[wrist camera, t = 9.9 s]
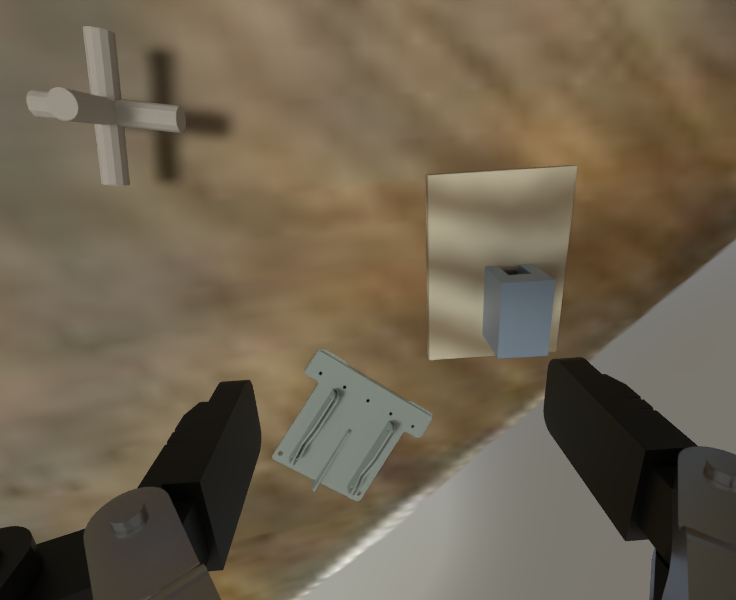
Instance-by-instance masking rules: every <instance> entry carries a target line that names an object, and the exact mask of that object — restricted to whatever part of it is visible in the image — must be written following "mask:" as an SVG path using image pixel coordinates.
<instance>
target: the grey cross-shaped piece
mask: <svg viewBox="0 0 736 600" xmlns="http://www.w3.org/2000/svg"><path fill="white" fill-rule="evenodd" d="M83 34H84V42H85V51H86V59H87V67H88V75H89V84H90V92H91V94H88V93H83V92H79V91H74V90H70V89H65V88H60V87H56V88H53V89H51V90H50V91H42V90H30V91H29V92H28V94H27V105H28V108H29V110H30V112H31V113H32V114H33V115H34V116H36V117H38V118H44V119H53V120H63V121H72V122H81V123H91V124H94V125H95V133H96V141H97V149H98V158H99V166H100V174H101V182H102V184H106V185H130V181H129V171H128V161H127V151H126V140H125V130H124V127H129V128H138V129H147V130H157V131H166V132H176V133H183V132H184V131H185V128H186V116H185V112H184V110H183V108H182V107H181V106H177V105H168V104H159V103H150V102H141V101H132V100H123V99H121V90H120V79H119V69H118V59H117V49H116V39H115V33H114V32H111V31H109V30H105V29H101V28H96V27H90V26H84V27H83Z"/></svg>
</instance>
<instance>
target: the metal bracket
mask: <svg viewBox="0 0 736 600" xmlns="http://www.w3.org/2000/svg"><path fill="white" fill-rule="evenodd" d="M319 372H322V374H321V375H319ZM305 374H306V375H307V376H309V377H311V378H313V379H314V380H316V381H317V382H318V385H317V387H316V388H315V390H314V391H313V393H312V394H311V396H310V397H309V399H308V401H307V402H306V404H305V405H304V407H303V408H302V410H301V411H300V413H299V415H298V416H297V418H296V419H295V421H294V422H293V424H292V426H291V427H290V429H289V430H288V432H287V433H286V435H285V436H284V438H283V440H282V441H281V443H280V444H279V446H278V447H277V449H276V450H275V452H274V454H273V456H272V457H273V459H274V460H276V461H278V462H280V463H282V464H284V465H286V466H288V467H290V468H292V469H293V470H295V471H297V472H299V473H301V474H303V475H305V476H307V477H309V478H311V479H312V491H315V490H316V488H317V486H318V485H319V483H321V484H323V485H325V486H327V487H329V488H331V489H333V490H335V491H337V492H339V493H341V494H343V495H345V496H347V497H349V498H351V499H353V500H355V501H360V500H361V498H362V496H363V495H364V493H365V492H366V490H367V489H368V487H369V485H370V484H371V482H372V481H373V479H374V478H375V476H376V475H377V473H378V471H379V470H380V468H381V467H382V465H383V464H384V462H385V460H386V459H387V457H388V456H389V454H390V453H391V451H392V450H393V448H394V446H395V445H396V443H397V442H398V440H399V439H400V437H401V435H402V434H403V433H404V432H407V433H409V434H411V435H413V436H414V437H416V438H419V437H421V436H422V434H423V433H424V431H425V430H426V428H427V427H428V425H429V423H430V422H431V420H432V417H433V415H432V413H430V412H428V411H427V410H425V409H423V408H422V407H420V406H418V405H417V404H415V403H413V402H412V401H407V400H405V399H404V398H402V397H400V396H398V395H397V394H395V393H393V392H392V391H390V390H388V389H387V388H385V387H383V386H382V385H380V384H378V383H377V382H375V381H373V380H372V379H370V378H368V377H366V376H365V375H363V374H361V373H360V372H358V371H356V370H355V369H353V368H351V367H350V366H348V365H347V362H345V361H344V360H342V359H340V358H339V357H337V356H335V355H334V354H332V353H331V352H329V351H327V350H326V349H319V350H318V351H317V352H316V354H315V355H314V357H313V358H312V360H311V361H310V363H309V365H308V366H307V368H306V369H305ZM343 386H346V388H345V389H344V388H343ZM367 399H369V400H370V401H369V402H367V401H366V400H367ZM390 412H392V414H391V415H389V413H390ZM412 425H414V427H413V428H412V427H411V426H412ZM279 451H282V452H283V454H282V455H279V454H278V452H279ZM359 491H361V493H360V494H359V495H358V492H359Z"/></svg>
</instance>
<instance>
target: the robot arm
mask: <svg viewBox="0 0 736 600" xmlns="http://www.w3.org/2000/svg"><path fill="white" fill-rule="evenodd" d="M544 419H545V423H546V426H547V428H548V431H549V432H550V434H551V435H552V437H553V438H554V440H555V441H556V442H557V444H558V445H559V447H560V448H561V450H562V451H563V453H564V454H565V455H566V457H567V458H568V459H569V461H570V462H571V464H572V465H573V467H574V468H575V470H576V471H577V473H578V474H579V475H580V477H581V478H582V480H583V481H584V483H585V484H586V485H587V487H588V488H589V490H590V491H591V493H592V494H593V496H594V497H595V498H596V500H597V501H598V503H599V504H600V505H601V507H602V508H603V510H604V511H605V513H606V514H607V515H608V517H609V518H610V520H611V521H612V523H613V524H614V526H615V527H616V529H617V530H618V531H619V533H620V534H621V536H622V537H623V539H624V540H625V541H634V540H646V539H649V540H650V542H651V543H652V544H653V546H654V547H655V549H654V552H653V556H652V564H651V580H650V599H649V600H736V455H735V454H733V453H730V452H727V451H724V450H720V449H716V448H711V447H703V446H702V447H701V446H697V445H696V444H695V443H694V442H693V441H691V440H690V439H689V438H688V437H687V436H686V435H684V434H683V433H682V432H681V431H680V430H679V429H677V428H676V427H675V426H674V425H673V424H672V423H670V422H669V421H668V420H667V419H666V418H664V417H663V416H662V415H661V414H660V413H659V412H658V411H656V410H655V411H654V410H653V407H652V406H651V405H649V404H648V403H647V402H646V401H645V400H641V398H640V396H639V395H638V394H637V393H635V392H634V391H633V390H632V389H631V388H630V387H628V386H627V385H626V384H624V383H622V382H620V381H618V380H616V379H614V378H612V377H610V376H608V375H606V374H601V373H600V372H599V371H598V370H597V369H596V368H594V367H593V366H592V365H591V364H590V363H589V362H588V361H587V360H586V359H584V358H582V357H575V358H561V359H552V360H551V361H550V363H549V365H548V372H547V381H546V390H545V400H544ZM260 447H261V428H260V422H259V417H258V411H257V406H256V401H255V395H254V390H253V386H252V383H251V381H250V380H241V381H226V382H220V383H219V384H218V386H217V388H216V390H215V391H214V393H213V395H212V396H211V398H210V400H209V402H200V403H198V404H197V405H196V406H195V407H193V408H192V409H191V410H190V411H189V412H187V413H186V414H185V415H184V416H183V418H182V419H181V421H180V422H179V424H178V425H177V427H176V428H175V432H173V433H172V435H171V436H170V438H169V439H168V441H167V445H165V446H164V447H163V449H162V450H161V452H160V453H159V455H158V457H157V458H156V460H155V461H154V463H153V464H152V466H151V468H150V469H149V471H148V472H147V474H146V475H145V477H144V479H143V480H142V482H141V483H140V485H139V486H138V488H137V489H134V490H131V491H128V492H126V493H123V494H121V495H119V496H117V497H115V498H114V499H112V500H111V501H109V502H108V503H106V504H105V505H104V506H103V507H101V508H100V509H99V510H98V511H97V512H96V513H95V514H94V516H93V517H92V518H91V519H90V521H89V522H88V524H87V526H86V528H85V529H83V530H80V531H77V532H74V533H71V534H68V535H64V536H61V537H58V538H55V539H52V540H49V541H46V542H43V543H39V544H36V543H35V541H34V539H33V536H32V534H31V532H30V531H29V530H28V529H27V528H24V527H19V526H11V527H5V528H1V529H0V600H221V598H220V596H219V594H218V592H217V590H216V588H215V585H214V583H213V581H212V579H211V577H210V575H209V573H208V571H217V570H223V569H224V566H225V562H226V559H227V556H228V553H229V549H230V546H231V543H232V540H233V537H234V533H235V530H236V527H237V524H238V520H239V517H240V514H241V511H242V507H243V504H244V501H245V498H246V495H247V491H248V488H249V485H250V482H251V478H252V475H253V472H254V469H255V466H256V462H257V459H258V456H259V452H260Z"/></svg>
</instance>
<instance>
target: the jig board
mask: <svg viewBox="0 0 736 600" xmlns="http://www.w3.org/2000/svg"><path fill="white" fill-rule="evenodd" d="M576 174H577V166H572V165H569V166H553V167H538V168H522V169H506V170H491V171H475V172H460V173H444V174H428V175H426V263H427V355H428V358H429V360H437V359H451V358H465V357H480V356H494V355H495V354H494V352H493V351H492V349H491V347H490V346H489V344H488V343H487V341H486V339H485V338H484V336H483V335H482V328H483V303H484V279H485V267H487V266H499V267H500V268H501V269H502V270H503V271H504V272H505V273H507V274H508V275H519V265H520V264H533V265H535V266H536V267H538V268H539V269H541V270H542V271H543V272H545V273H546V274H548V275H549V276H551V277H552V278H554V279H555V280H556V282H555V292H554V301H553V311H552V320H551V330H550V339H549V349H548V352H551V351H556V348H557V340H558V331H559V322H560V313H561V305H562V296H563V287H564V279H565V270H566V261H567V253H568V244H569V235H570V227H571V218H572V209H573V200H574V192H575V183H576Z"/></svg>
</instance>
